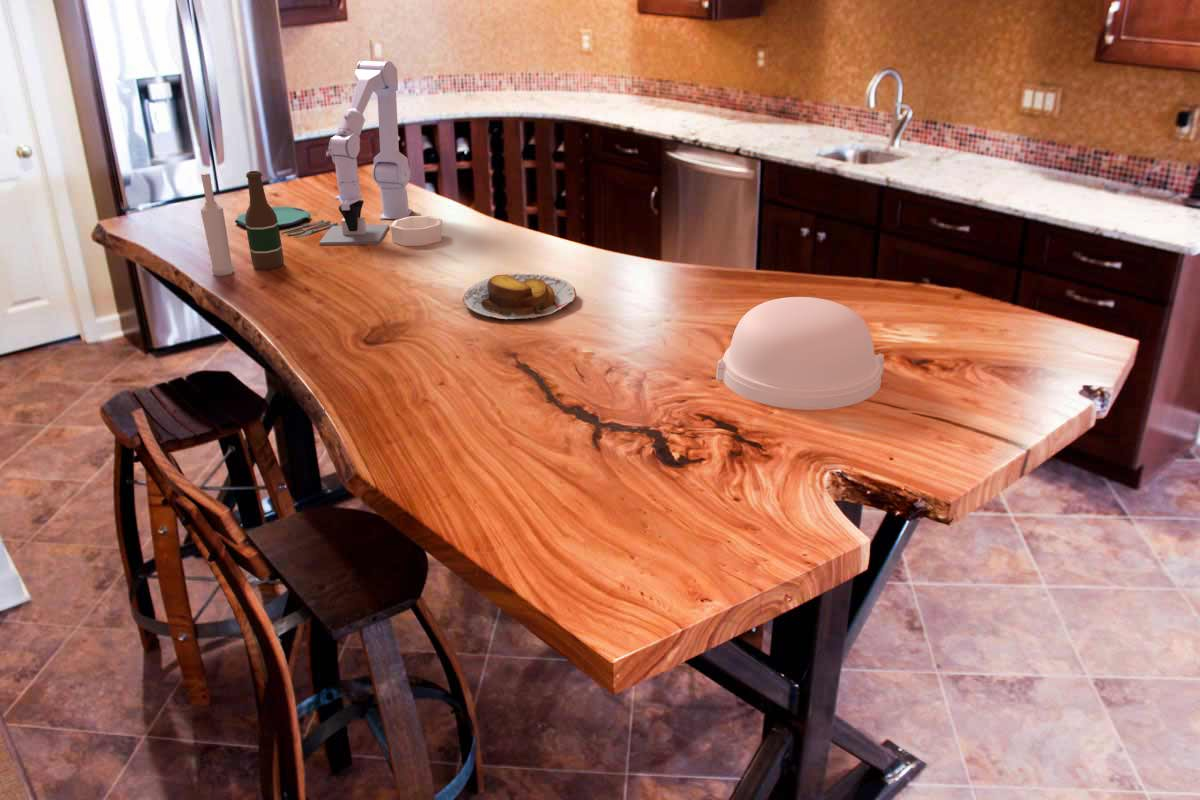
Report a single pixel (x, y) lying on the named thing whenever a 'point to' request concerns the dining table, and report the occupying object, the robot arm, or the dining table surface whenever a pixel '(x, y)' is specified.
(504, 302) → the food on plate
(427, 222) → the bowl
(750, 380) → the dome cover
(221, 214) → the bottle
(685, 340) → the dining table surface
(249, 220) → the beer bottle
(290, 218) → the cutlery set
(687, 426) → the dining table surface
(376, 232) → the lid
